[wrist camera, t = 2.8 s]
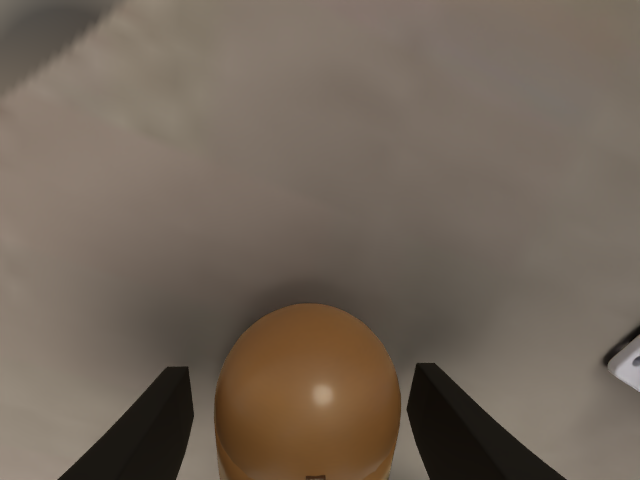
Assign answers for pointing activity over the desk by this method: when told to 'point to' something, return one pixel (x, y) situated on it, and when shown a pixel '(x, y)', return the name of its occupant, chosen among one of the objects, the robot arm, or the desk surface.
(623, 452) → the desk surface
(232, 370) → the bean
